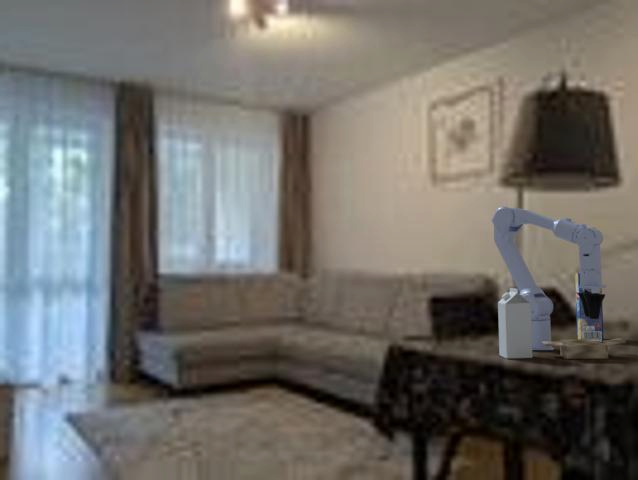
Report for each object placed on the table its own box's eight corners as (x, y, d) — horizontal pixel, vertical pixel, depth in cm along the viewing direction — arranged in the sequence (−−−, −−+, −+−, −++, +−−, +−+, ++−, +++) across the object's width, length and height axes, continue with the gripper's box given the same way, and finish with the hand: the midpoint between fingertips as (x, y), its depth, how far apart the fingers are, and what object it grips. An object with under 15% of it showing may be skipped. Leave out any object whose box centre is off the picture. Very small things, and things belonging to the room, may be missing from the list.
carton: (546, 358, 191) (545, 344, 191) (540, 352, 204) (540, 339, 204) (608, 359, 188) (607, 344, 188) (598, 352, 201) (598, 339, 201)
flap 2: (626, 341, 188) (626, 342, 188) (619, 338, 195) (620, 339, 195) (608, 343, 189) (608, 345, 189) (602, 340, 196) (603, 342, 196)
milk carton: (524, 355, 199) (522, 287, 200) (532, 358, 192) (530, 288, 193) (499, 355, 199) (497, 288, 200) (506, 359, 192) (504, 289, 192)
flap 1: (566, 344, 190) (566, 345, 190) (568, 343, 186) (568, 344, 186) (606, 344, 188) (606, 345, 188) (609, 343, 184) (609, 344, 184)
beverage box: (598, 338, 237) (596, 272, 238) (603, 341, 226) (601, 273, 227) (577, 338, 239) (575, 272, 239) (581, 341, 228) (578, 273, 229)
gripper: (610, 270, 194) (612, 319, 194) (600, 269, 208) (601, 315, 208) (583, 270, 195) (585, 319, 195) (574, 269, 210) (576, 315, 209)
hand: (591, 317), depth 201 cm, fingers open, 7 cm apart
